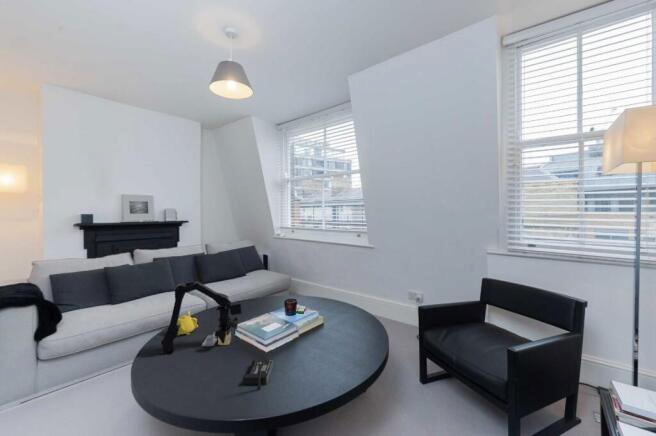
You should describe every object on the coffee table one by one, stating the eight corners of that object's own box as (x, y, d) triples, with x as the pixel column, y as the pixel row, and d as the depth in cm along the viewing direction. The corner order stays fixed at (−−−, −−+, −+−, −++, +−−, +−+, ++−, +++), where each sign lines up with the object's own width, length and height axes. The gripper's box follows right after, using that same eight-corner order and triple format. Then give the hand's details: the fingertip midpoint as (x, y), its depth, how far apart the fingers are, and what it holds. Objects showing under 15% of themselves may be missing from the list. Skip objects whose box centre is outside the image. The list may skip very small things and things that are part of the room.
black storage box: (250, 366, 151) (249, 334, 150) (276, 366, 151) (275, 334, 150) (238, 391, 131) (237, 355, 130) (268, 390, 131) (267, 354, 130)
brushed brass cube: (228, 344, 174) (228, 335, 173) (218, 345, 173) (218, 335, 173) (231, 340, 180) (230, 330, 179) (221, 340, 179) (221, 331, 179)
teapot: (193, 338, 182) (192, 321, 182) (168, 340, 180) (168, 322, 179) (202, 325, 202) (201, 309, 201) (180, 327, 200) (179, 311, 199)
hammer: (213, 346, 172) (213, 338, 172) (202, 346, 172) (201, 339, 172) (222, 333, 189) (222, 326, 189) (211, 333, 189) (211, 326, 189)
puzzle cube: (306, 319, 211) (306, 306, 211) (304, 325, 201) (303, 311, 201) (293, 319, 212) (293, 305, 212) (290, 324, 202) (290, 311, 202)
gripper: (233, 321, 167) (234, 347, 168) (240, 310, 185) (241, 333, 186) (214, 322, 166) (214, 348, 167) (223, 310, 185) (224, 334, 185)
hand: (224, 340), depth 176 cm, fingers closed on brushed brass cube, 6 cm apart
